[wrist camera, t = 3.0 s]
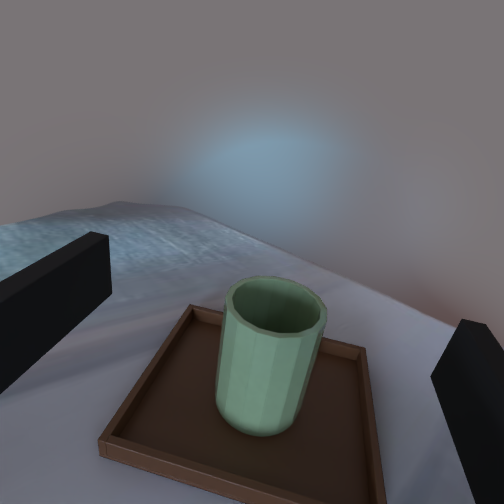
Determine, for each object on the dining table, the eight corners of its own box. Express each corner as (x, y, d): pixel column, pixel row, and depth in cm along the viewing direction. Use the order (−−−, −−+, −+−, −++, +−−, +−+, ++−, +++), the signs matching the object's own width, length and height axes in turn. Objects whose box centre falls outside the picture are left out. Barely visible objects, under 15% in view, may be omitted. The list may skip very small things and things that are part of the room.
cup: (302, 375, 31) (327, 287, 27) (295, 449, 25) (326, 350, 20) (228, 355, 32) (240, 268, 28) (202, 421, 26) (212, 321, 21)
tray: (360, 360, 34) (365, 347, 34) (382, 548, 20) (391, 533, 19) (188, 316, 37) (189, 303, 36) (99, 455, 23) (97, 439, 22)
